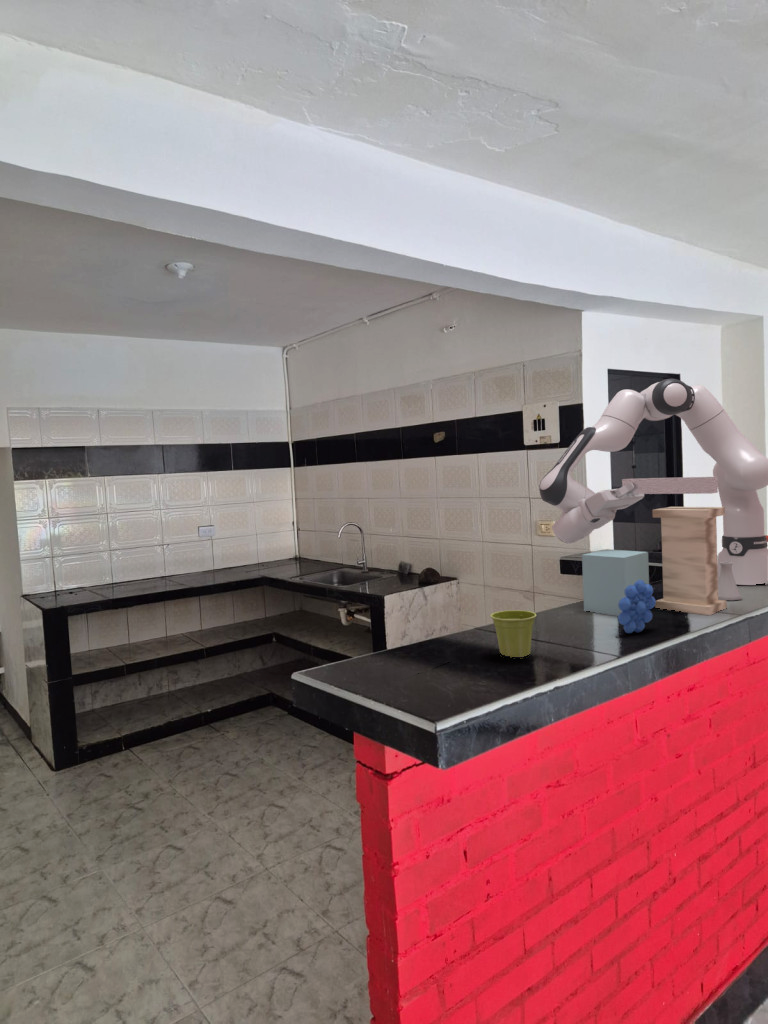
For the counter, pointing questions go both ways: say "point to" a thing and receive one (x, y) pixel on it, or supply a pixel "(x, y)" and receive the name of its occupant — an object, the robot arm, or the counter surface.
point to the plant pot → (514, 631)
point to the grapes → (636, 606)
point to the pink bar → (673, 485)
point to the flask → (727, 583)
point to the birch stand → (690, 559)
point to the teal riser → (611, 578)
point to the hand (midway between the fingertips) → (638, 484)
